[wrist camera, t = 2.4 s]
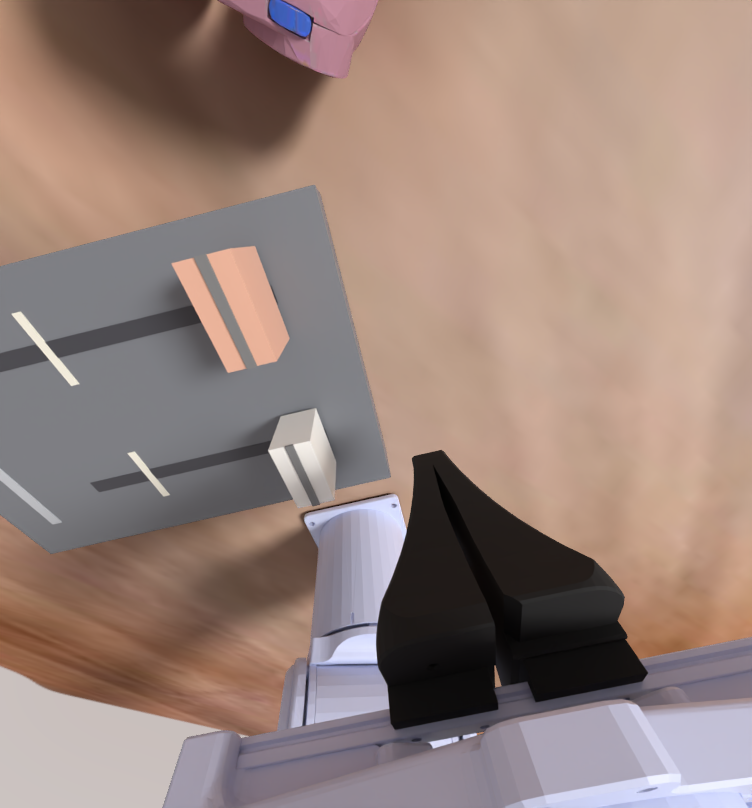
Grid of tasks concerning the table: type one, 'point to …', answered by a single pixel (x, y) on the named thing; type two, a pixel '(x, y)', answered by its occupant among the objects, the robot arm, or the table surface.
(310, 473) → the fader white
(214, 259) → the fader terracotta
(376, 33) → the table surface
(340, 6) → the video game controller
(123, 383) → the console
